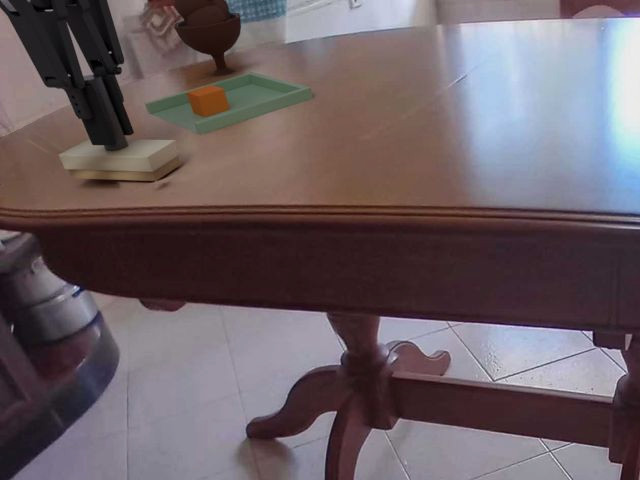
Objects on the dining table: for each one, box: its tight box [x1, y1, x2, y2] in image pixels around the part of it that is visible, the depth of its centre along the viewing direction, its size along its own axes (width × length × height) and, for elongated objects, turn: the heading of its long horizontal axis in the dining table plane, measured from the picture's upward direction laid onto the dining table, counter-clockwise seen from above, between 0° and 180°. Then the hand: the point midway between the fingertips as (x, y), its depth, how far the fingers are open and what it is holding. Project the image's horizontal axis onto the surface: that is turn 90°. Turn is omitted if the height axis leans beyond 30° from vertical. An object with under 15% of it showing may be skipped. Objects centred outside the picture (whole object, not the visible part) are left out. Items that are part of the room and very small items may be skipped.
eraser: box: [186, 85, 230, 117], centre depth 102 cm, size 4×4×3 cm
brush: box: [58, 73, 182, 182], centre depth 81 cm, size 12×5×11 cm, turn 75°
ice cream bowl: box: [173, 0, 242, 78], centre depth 118 cm, size 11×11×15 cm
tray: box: [144, 71, 314, 136], centre depth 105 cm, size 18×18×2 cm
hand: (113, 138), depth 82 cm, fingers closed on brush, 3 cm apart
